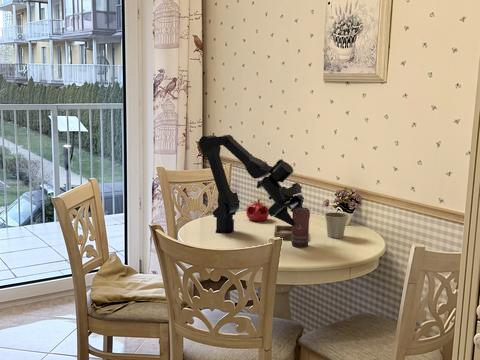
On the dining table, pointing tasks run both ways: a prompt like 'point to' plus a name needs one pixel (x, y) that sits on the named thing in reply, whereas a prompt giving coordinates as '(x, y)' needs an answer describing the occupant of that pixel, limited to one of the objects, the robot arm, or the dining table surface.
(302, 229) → the can
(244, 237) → the dining table surface
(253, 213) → the pomegranate
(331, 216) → the flower pot
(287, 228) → the tray
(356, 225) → the dining table surface
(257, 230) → the dining table surface
